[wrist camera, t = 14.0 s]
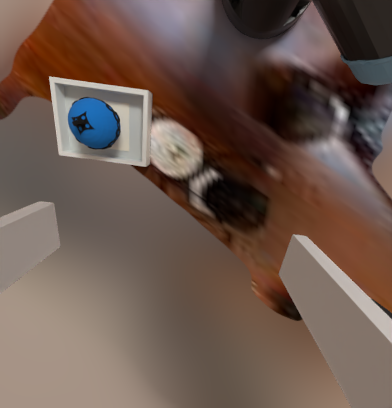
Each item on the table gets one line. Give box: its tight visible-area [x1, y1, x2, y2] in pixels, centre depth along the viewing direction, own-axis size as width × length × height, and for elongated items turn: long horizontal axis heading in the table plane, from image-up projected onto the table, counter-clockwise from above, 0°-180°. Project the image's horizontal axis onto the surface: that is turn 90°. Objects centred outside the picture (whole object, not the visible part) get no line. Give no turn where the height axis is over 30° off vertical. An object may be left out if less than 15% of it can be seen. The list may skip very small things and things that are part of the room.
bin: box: [49, 77, 152, 167], centre depth 37 cm, size 14×18×3 cm
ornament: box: [68, 97, 121, 150], centre depth 33 cm, size 9×9×10 cm
